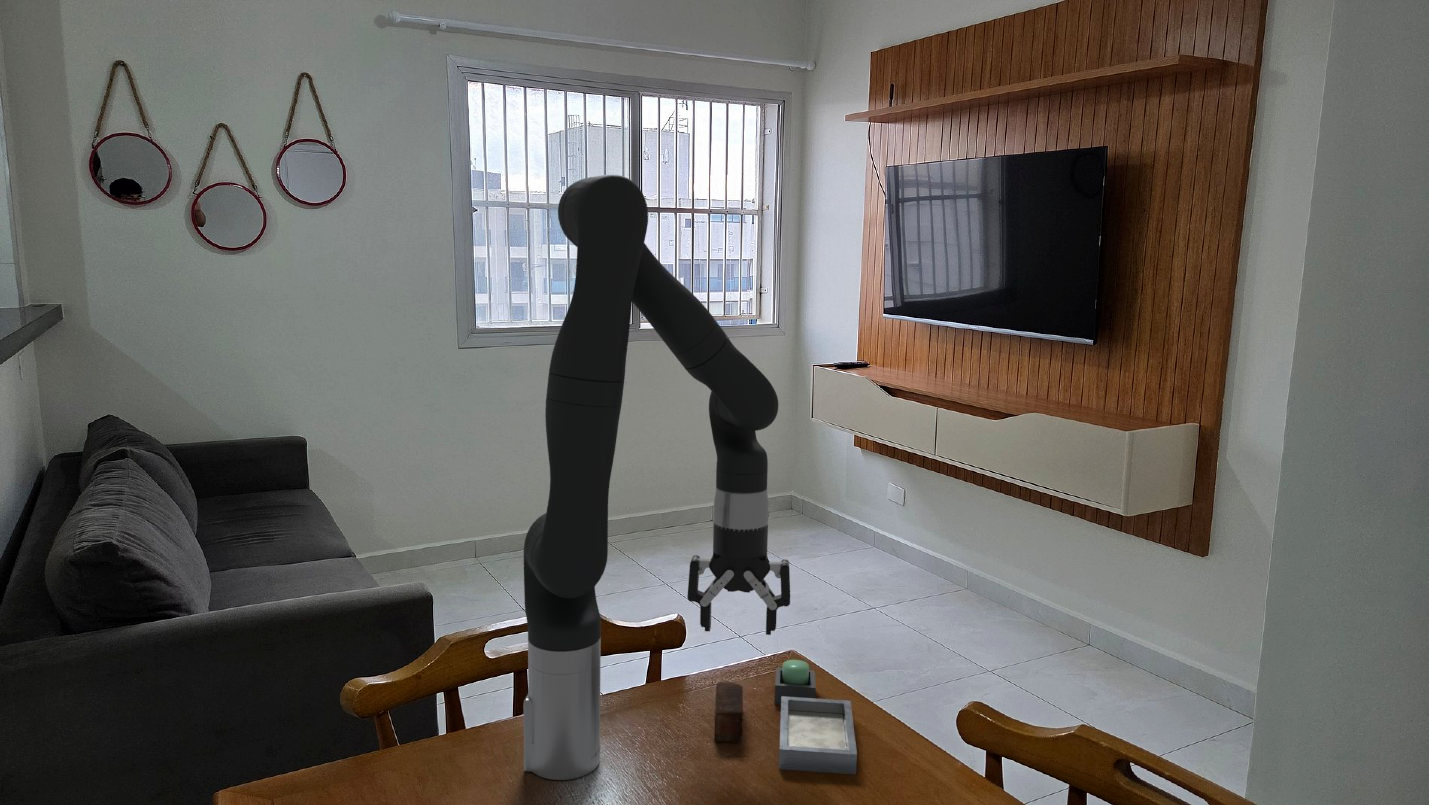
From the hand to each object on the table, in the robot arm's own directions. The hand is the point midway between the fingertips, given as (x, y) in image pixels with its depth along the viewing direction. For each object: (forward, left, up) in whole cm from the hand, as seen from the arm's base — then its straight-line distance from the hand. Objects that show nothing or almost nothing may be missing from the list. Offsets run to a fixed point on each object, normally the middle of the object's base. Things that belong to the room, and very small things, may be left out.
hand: (738, 631), depth 132 cm
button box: (+8, +10, -14) cm, 19 cm away
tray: (+11, -4, -14) cm, 18 cm away
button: (+8, +10, -12) cm, 17 cm away
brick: (-1, 0, -15) cm, 15 cm away
